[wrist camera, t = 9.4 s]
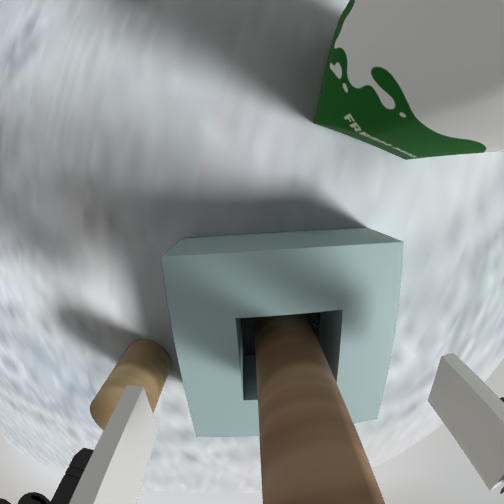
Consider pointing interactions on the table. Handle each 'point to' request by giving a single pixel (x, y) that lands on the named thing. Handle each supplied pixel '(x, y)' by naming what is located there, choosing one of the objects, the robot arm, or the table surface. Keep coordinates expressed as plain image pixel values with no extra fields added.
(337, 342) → the socket block
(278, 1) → the table surface
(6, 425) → the table surface
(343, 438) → the walnut pin long
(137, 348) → the oak pin short
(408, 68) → the milk carton
